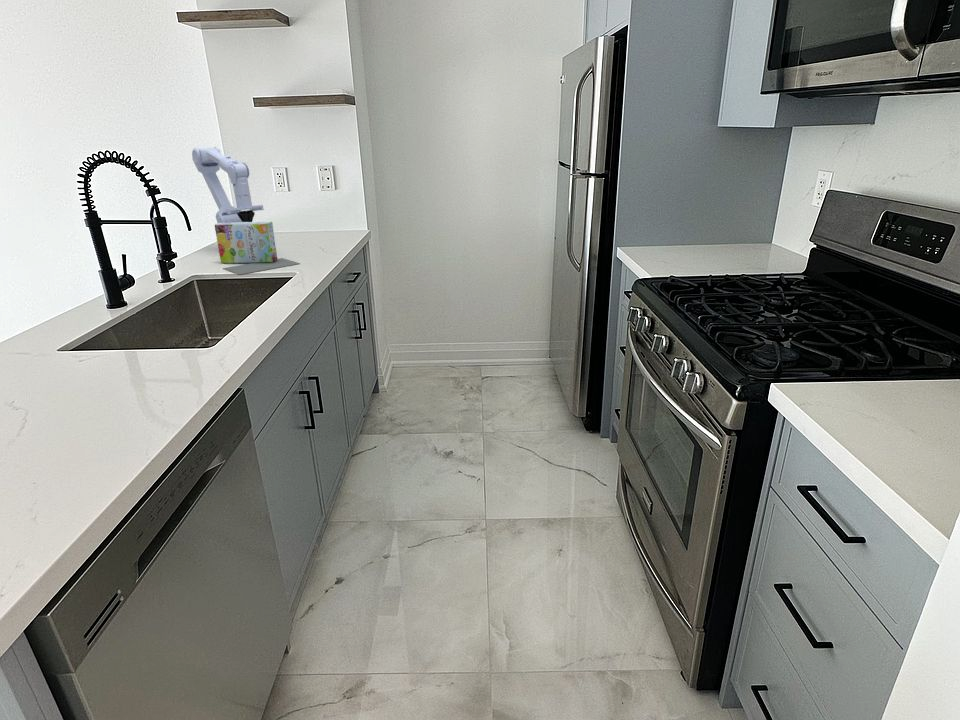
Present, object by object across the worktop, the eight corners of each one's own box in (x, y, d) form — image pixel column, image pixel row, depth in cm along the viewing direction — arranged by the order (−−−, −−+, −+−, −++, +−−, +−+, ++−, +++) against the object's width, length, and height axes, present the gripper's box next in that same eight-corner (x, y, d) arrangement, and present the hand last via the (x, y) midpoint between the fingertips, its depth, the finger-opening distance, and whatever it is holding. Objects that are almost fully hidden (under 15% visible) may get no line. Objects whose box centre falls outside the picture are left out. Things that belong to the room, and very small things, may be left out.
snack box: (278, 260, 244) (272, 221, 238) (272, 263, 238) (266, 223, 233) (227, 260, 246) (220, 221, 240) (220, 263, 240) (213, 224, 235)
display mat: (223, 268, 232) (222, 268, 232) (282, 258, 248) (282, 257, 247) (239, 275, 223) (239, 274, 223) (300, 264, 238) (299, 263, 238)
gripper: (229, 197, 236) (235, 233, 241) (264, 193, 246) (270, 228, 250) (221, 197, 241) (227, 232, 246) (256, 193, 251) (262, 227, 255)
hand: (248, 230), depth 248 cm, fingers closed
